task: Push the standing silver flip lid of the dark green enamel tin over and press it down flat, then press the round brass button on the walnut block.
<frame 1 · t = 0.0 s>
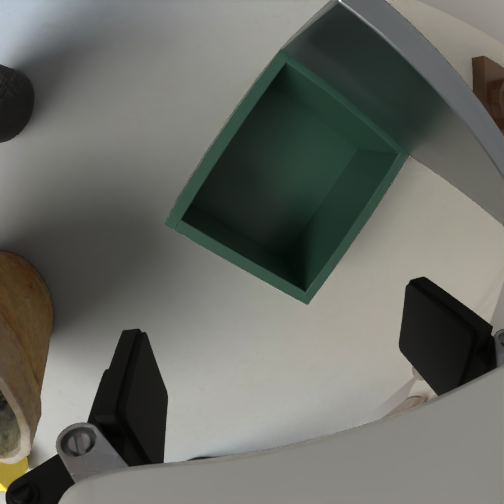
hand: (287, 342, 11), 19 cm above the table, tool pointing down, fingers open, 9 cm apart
tin lid: (402, 114, 12), point 15 cm above the table, hinge at 75.0°
button block: (492, 104, 28), on the table
travel mug: (7, 106, 22), on the table
potted plant: (14, 298, 28), on the table
tin: (273, 171, 28), on the table
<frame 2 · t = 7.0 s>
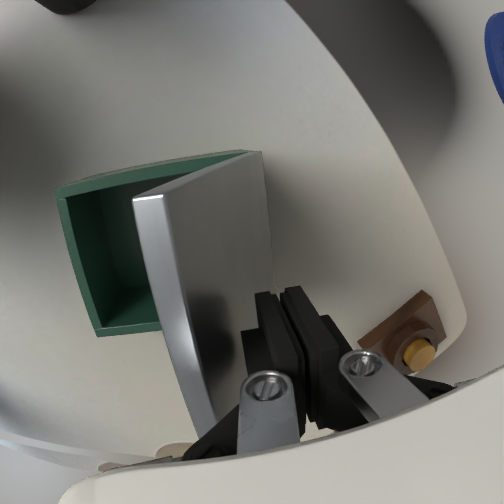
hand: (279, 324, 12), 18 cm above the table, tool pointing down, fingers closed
tin lid: (246, 292, 15), point 15 cm above the table, hinge at 73.1°, touching gripper
button block: (401, 335, 36), on the table
button: (419, 354, 32), point 4 cm above the table, slide at 0.1 cm
tin: (173, 225, 28), on the table
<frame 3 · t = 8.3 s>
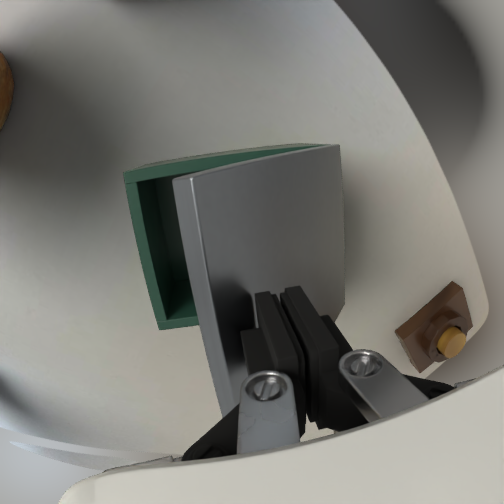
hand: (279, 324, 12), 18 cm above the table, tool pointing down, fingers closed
tin lid: (300, 271, 16), point 14 cm above the table, hinge at 52.0°
button block: (432, 324, 37), on the table
button: (451, 342, 33), point 4 cm above the table, slide at 0.1 cm
tin: (230, 216, 29), on the table
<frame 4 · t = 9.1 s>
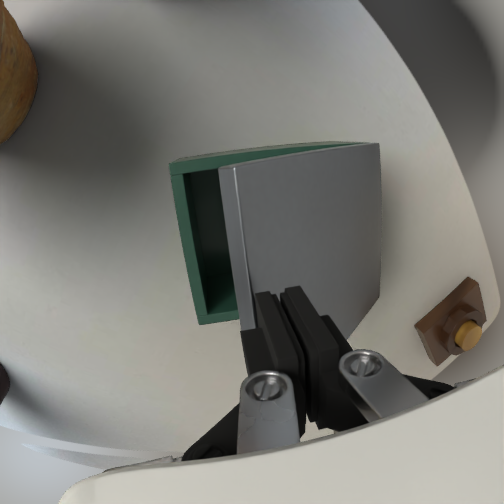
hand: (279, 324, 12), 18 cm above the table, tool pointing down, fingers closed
tin lid: (334, 259, 17), point 13 cm above the table, hinge at 42.6°, touching gripper
button block: (449, 319, 37), on the table
button: (468, 335, 33), point 4 cm above the table, slide at 0.1 cm
tin: (264, 211, 29), on the table
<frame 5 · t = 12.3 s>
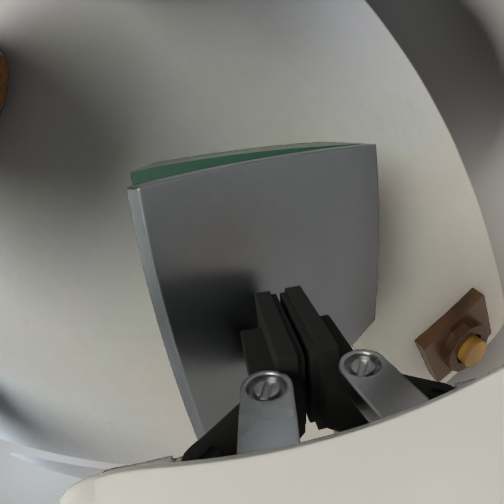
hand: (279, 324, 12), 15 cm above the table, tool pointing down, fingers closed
tin lid: (308, 284, 14), point 13 cm above the table, hinge at 38.4°
button block: (451, 332, 34), on the table
button: (472, 351, 30), point 4 cm above the table, slide at 0.1 cm
tin: (248, 221, 26), on the table
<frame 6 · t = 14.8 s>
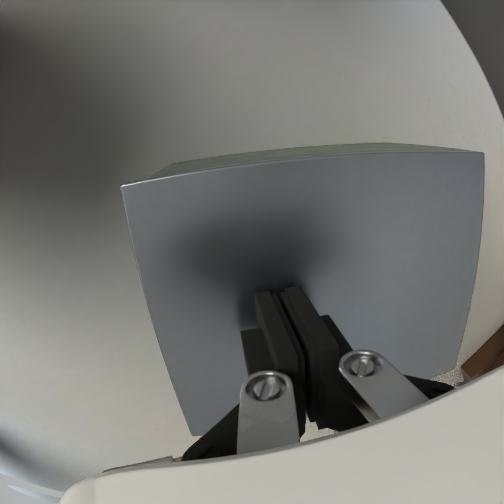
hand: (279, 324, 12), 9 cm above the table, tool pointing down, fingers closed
tin lid: (342, 305, 12), point 8 cm above the table, hinge at -0.1°, touching gripper
button block: (494, 355, 28), on the table
tin: (297, 242, 20), on the table
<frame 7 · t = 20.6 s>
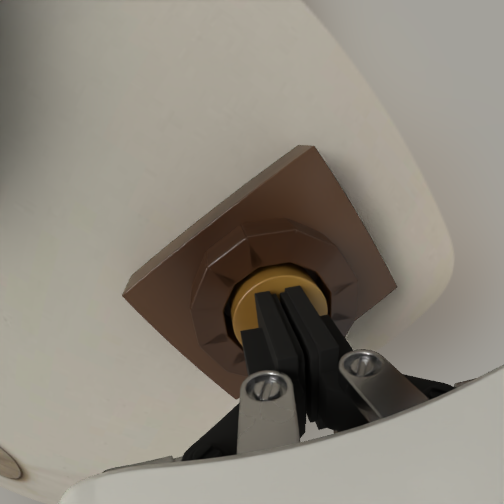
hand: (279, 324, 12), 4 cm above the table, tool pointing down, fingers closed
button block: (262, 273, 16), on the table
button: (277, 309, 13), point 4 cm above the table, slide at -0.8 cm, touching gripper
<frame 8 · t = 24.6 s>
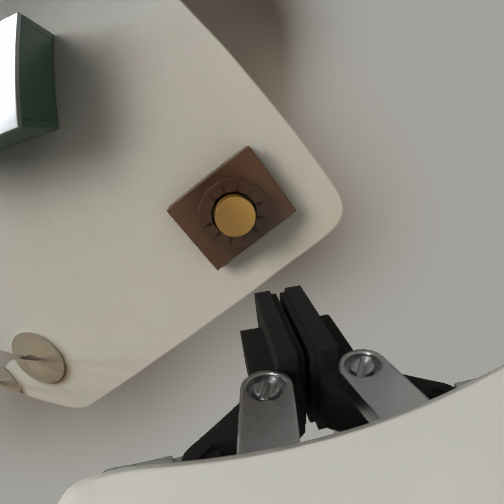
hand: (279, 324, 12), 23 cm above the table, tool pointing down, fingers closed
button block: (230, 205, 33), on the table
button: (234, 215, 29), point 4 cm above the table, slide at 0.1 cm
tin: (7, 98, 25), on the table
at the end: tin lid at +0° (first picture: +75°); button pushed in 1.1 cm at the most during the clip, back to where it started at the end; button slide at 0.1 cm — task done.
